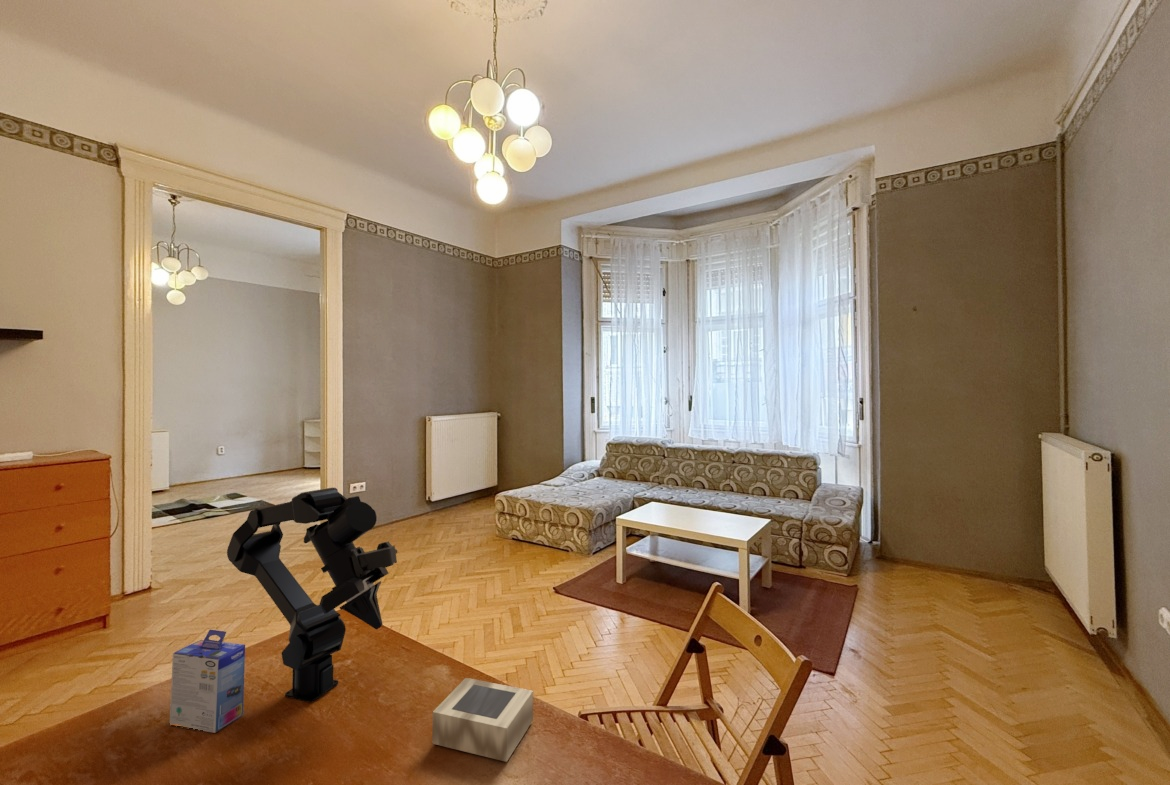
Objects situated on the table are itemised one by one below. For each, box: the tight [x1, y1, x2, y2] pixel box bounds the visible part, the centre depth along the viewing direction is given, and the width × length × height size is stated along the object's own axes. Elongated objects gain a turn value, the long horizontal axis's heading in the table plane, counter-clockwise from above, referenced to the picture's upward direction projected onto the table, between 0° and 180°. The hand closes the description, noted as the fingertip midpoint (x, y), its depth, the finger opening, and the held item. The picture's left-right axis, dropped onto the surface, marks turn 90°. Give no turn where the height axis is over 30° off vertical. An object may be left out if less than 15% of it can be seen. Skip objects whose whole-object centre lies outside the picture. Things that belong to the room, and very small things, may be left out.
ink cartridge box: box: [168, 629, 246, 734], centre depth 84 cm, size 10×6×14 cm, turn 78°
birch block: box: [431, 677, 534, 763], centre depth 80 cm, size 5×10×13 cm
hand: (379, 627), depth 88 cm, fingers closed
